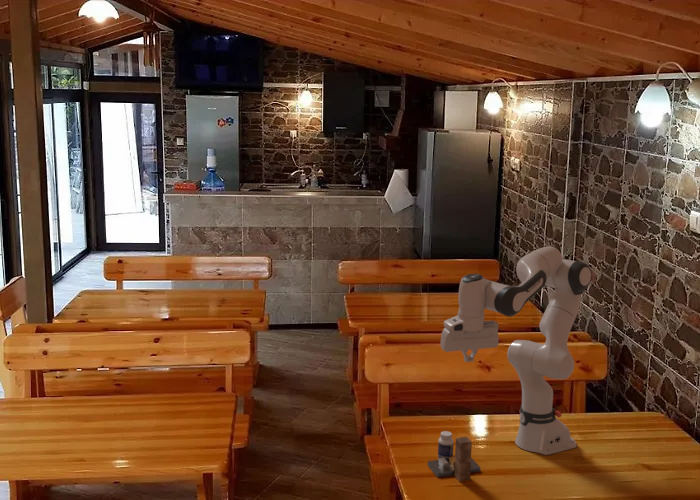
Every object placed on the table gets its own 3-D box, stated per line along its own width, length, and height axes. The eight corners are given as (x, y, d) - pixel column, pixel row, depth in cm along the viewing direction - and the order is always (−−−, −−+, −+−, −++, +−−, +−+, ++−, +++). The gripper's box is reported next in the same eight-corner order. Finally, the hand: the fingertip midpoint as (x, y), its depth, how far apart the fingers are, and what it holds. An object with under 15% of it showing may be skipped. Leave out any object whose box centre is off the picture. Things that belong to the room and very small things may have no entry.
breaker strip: (469, 459, 272) (469, 450, 271) (480, 471, 263) (480, 462, 262) (427, 465, 267) (427, 456, 267) (437, 477, 259) (437, 468, 258)
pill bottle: (452, 462, 269) (453, 437, 267) (437, 461, 270) (438, 435, 268) (453, 456, 274) (454, 430, 272) (438, 454, 275) (439, 429, 273)
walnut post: (465, 474, 261) (466, 436, 258) (470, 480, 257) (471, 441, 254) (454, 475, 260) (455, 438, 257) (459, 481, 256) (460, 443, 253)
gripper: (494, 317, 261) (492, 355, 264) (439, 321, 256) (437, 360, 259) (502, 322, 256) (500, 361, 258) (446, 327, 250) (445, 367, 253)
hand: (468, 361), depth 258 cm, fingers closed
